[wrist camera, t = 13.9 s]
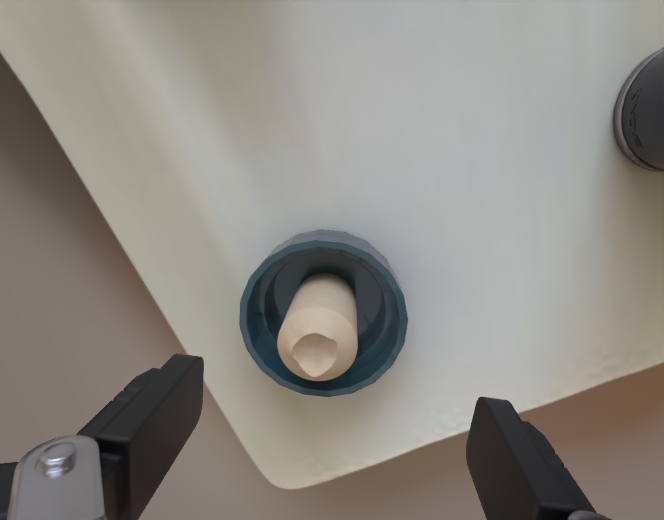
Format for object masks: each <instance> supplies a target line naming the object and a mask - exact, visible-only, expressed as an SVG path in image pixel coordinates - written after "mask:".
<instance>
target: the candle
mask: <svg viewBox="0 0 664 520" xmlns="http://www.w3.org/2000/svg"><path fill="white" fill-rule="evenodd" d="M277 346H278V352H279V355H280V357H281V359H282V361H283V363H284V364H285V365H286V367H287V368H288V369H289V370H290V371H292V372H293V373H294V374H296V375H297V376H299V377H302V378H304V379H307V380H312V381H326V380H330V379H333V378H336V377H338V376H340V375H341V374H343V373H344V372H345V371H347V370H348V369H349V367H350V366H351V365H352V363H353V362H354V360H355V357H356V354H357V348H358V341H357V311H356V298H355V294H354V291H353V289H352V288H351V286H350V285H349V284H348V282H347V281H345V280H344V279H343V278H341V277H340V276H338V275H335V274H331V273H319V274H315V275H312V276H310V277H309V278H307V279H306V280H305V281H303V282H302V284H301V285H300V286H299V288H298V289H297V291H296V293H295V296H294V298H293V300H292V303H291V305H290V307H289V310H288V312H287V314H286V317H285V319H284V321H283V324H282V326H281V329H280V331H279V334H278V340H277Z"/></svg>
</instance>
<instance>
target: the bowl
mask: <svg viewBox="0 0 664 520" xmlns="http://www.w3.org/2000/svg"><path fill="white" fill-rule="evenodd" d="M319 273H331V274H335V275H338V276H340V277H341V278H343V279H344V280H345V281H347V282H348V284H349V285H350V286H351V288H352V289H353V291H354V294H355V298H356V311H357V341H358V348H357V354H356V357H355V360H354V362H353V363H352V365H351V366H350V367H349V369H348V370H347V371H345V372H344V373H343V374H341V375H340V376H338V377H336V378H333V379H330V380H326V381H312V380H307V379H304V378H302V377H299V376H297V375H296V374H294V373H293V372H292V371H290V370H289V369H288V368H287V367H286V365H285V364H284V363H283V361H282V359H281V357H280V355H279V352H278V346H277V340H278V334H279V331H280V329H281V326H282V324H283V321H284V319H285V317H286V314H287V312H288V310H289V307H290V305H291V303H292V300H293V298H294V296H295V293H296V291H297V289H298V288H299V286H300V285H301V284H302V282H303V281H305V280H306V279H307V278H309V277H310V276H312V275H315V274H319ZM407 323H408V317H407V311H406V306H405V300H404V295H403V292H402V290H401V287H400V285H399V282H398V280H397V277H396V275H395V274H394V272H393V270H392V268H391V267H390V265H389V263H388V261H387V260H386V258H385V257H384V256H383V255H382V254H381V253H379V252H378V251H377V250H376V249H375V248H374V247H373V246H372V245H371V244H369V243H368V242H367V241H365V240H362V239H360V238H358V237H355V236H353V235H351V234H349V233H346V232H340V231H330V230H317V231H312V232H307V233H302V234H298V235H296V236H294V237H292V238H291V239H289V240H287V241H285V242H284V243H282V244H280V245H279V246H277V247H276V248H275V249H274V250H273V252H272V253H271V254H270V255H269V256H268V257H267V258H266V259H265V261H264V262H263V263H262V264H261V265H260V266H259V267H258V269H257V270H256V271H255V272H254V273H253V274H252V275H251V277H250V278H249V280H248V283H247V286H246V288H245V291H244V293H243V296H242V298H241V301H240V329H241V332H242V335H243V339H244V342H245V346H246V348H247V350H248V352H249V353H250V355H251V356H252V358H253V359H254V361H255V362H256V363H257V365H258V366H259V368H260V369H261V370H262V371H263V372H265V373H266V374H267V375H268V376H270V377H271V378H272V379H273V380H275V381H276V382H277V383H278V384H280V385H282V386H284V387H287V388H289V389H292V390H294V391H296V392H299V393H301V394H307V395H315V396H324V397H331V396H337V395H343V394H349V393H353V392H355V391H357V390H359V389H361V388H364V387H366V386H368V385H370V384H372V383H374V382H375V381H376V380H377V379H378V378H379V377H381V376H382V375H383V374H384V373H385V372H386V371H387V370H388V369H389V368H390V367H391V366H392V365H393V363H394V362H395V360H396V358H397V356H398V354H399V352H400V350H401V349H402V347H403V345H404V342H405V335H406V329H407Z"/></svg>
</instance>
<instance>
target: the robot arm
mask: <svg viewBox="0 0 664 520" xmlns="http://www.w3.org/2000/svg"><path fill="white" fill-rule="evenodd" d="M614 129H615V134H616V138H617V141H618V143H619V145H620V147H621V149H622V150H623V152H624V153H625V154H626V156H627V157H628V158H629V159H631V160H632V161H633V162H634V163H636V164H637V165H639V166H641V167H643V168H646V169H649V170H653V171H659V172H664V48H663V49H661V50H658V51H657V52H655V53H653V54H652V55H650V56H649V57H648V58H646V59H645V60H644V61H643V62H642V63H640V64H639V65H638V67H637V68H636V69H635V70H634V71H633V72H632V73H631V75H630V76H629V77H628V79H627V80H626V82H625V84H624V85H623V87H622V89H621V91H620V94H619V96H618V99H617V102H616V106H615V112H614ZM203 372H204V362H203V358H202V357H198V356H191V355H183V354H174V355H173V356H172V357H171V358H170V359H169V360H168V362H166V363H165V364H164V365H163V366H162V367H161V369H156V368H152V369H151V370H149V371H147V372H145V373H143V374H141V375H139V376H137V377H135V378H134V379H133V380H132V381H131V382H130V383H129V384H128V385H127V386H126V387H125V388H124V391H121V392H120V393H119V394H118V395H117V396H116V397H115V398H114V400H113V401H110V402H109V403H108V404H107V405H106V406H105V407H104V408H103V409H102V410H101V411H100V412H99V413H98V414H97V415H96V416H95V417H94V418H93V419H92V420H91V421H90V422H89V423H87V425H85V426H84V427H83V428H82V429H81V430H80V431H79V432H78V433H77V434H76V435H70V436H63V437H58V438H55V439H52V440H49V441H47V442H45V443H42V444H40V445H38V446H37V447H35V448H33V449H32V450H31V451H29V452H28V453H27V454H26V455H25V456H24V457H22V459H21V460H20V461H19V462H13V463H3V464H0V520H138V519H139V517H140V515H141V514H142V512H143V510H144V509H145V507H146V506H147V504H148V502H149V501H150V499H151V498H152V496H153V495H154V493H155V491H156V490H157V488H158V486H159V485H160V483H161V482H162V480H163V478H164V477H165V475H166V474H167V472H168V470H169V469H170V467H171V465H172V464H173V462H174V461H175V459H176V457H177V455H178V454H179V453H180V451H181V449H182V448H183V446H184V445H185V443H186V441H187V439H188V438H189V436H190V435H191V433H192V432H193V430H194V428H195V427H196V425H197V423H198V420H199V418H200V414H201V410H202V402H203ZM466 459H467V465H468V468H469V471H470V474H471V477H472V479H473V482H474V485H475V488H476V491H477V493H478V496H479V499H480V502H481V505H482V508H483V510H484V513H485V516H486V518H487V520H611V519H609V518H607V517H605V516H603V515H601V514H598V513H597V512H596V511H595V510H594V508H593V507H592V505H591V504H590V502H589V501H588V499H587V498H586V496H585V495H584V493H583V492H582V491H581V489H580V487H579V486H578V485H577V483H576V481H575V480H574V479H573V477H572V476H571V474H570V473H569V471H568V470H567V468H564V464H563V462H562V461H561V459H560V458H559V456H558V455H557V454H555V450H554V449H553V448H552V446H551V445H550V443H549V442H548V440H547V439H546V437H545V436H544V435H543V434H542V433H541V432H540V431H538V430H537V429H536V428H535V427H534V426H532V425H531V424H530V423H529V422H526V421H522V420H521V419H520V417H519V416H518V414H517V412H516V411H515V409H514V407H513V406H512V404H511V403H510V402H509V401H508V400H502V399H495V398H487V397H479V398H478V400H477V403H476V406H475V411H474V415H473V419H472V423H471V427H470V431H469V436H468V440H467V446H466Z"/></svg>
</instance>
